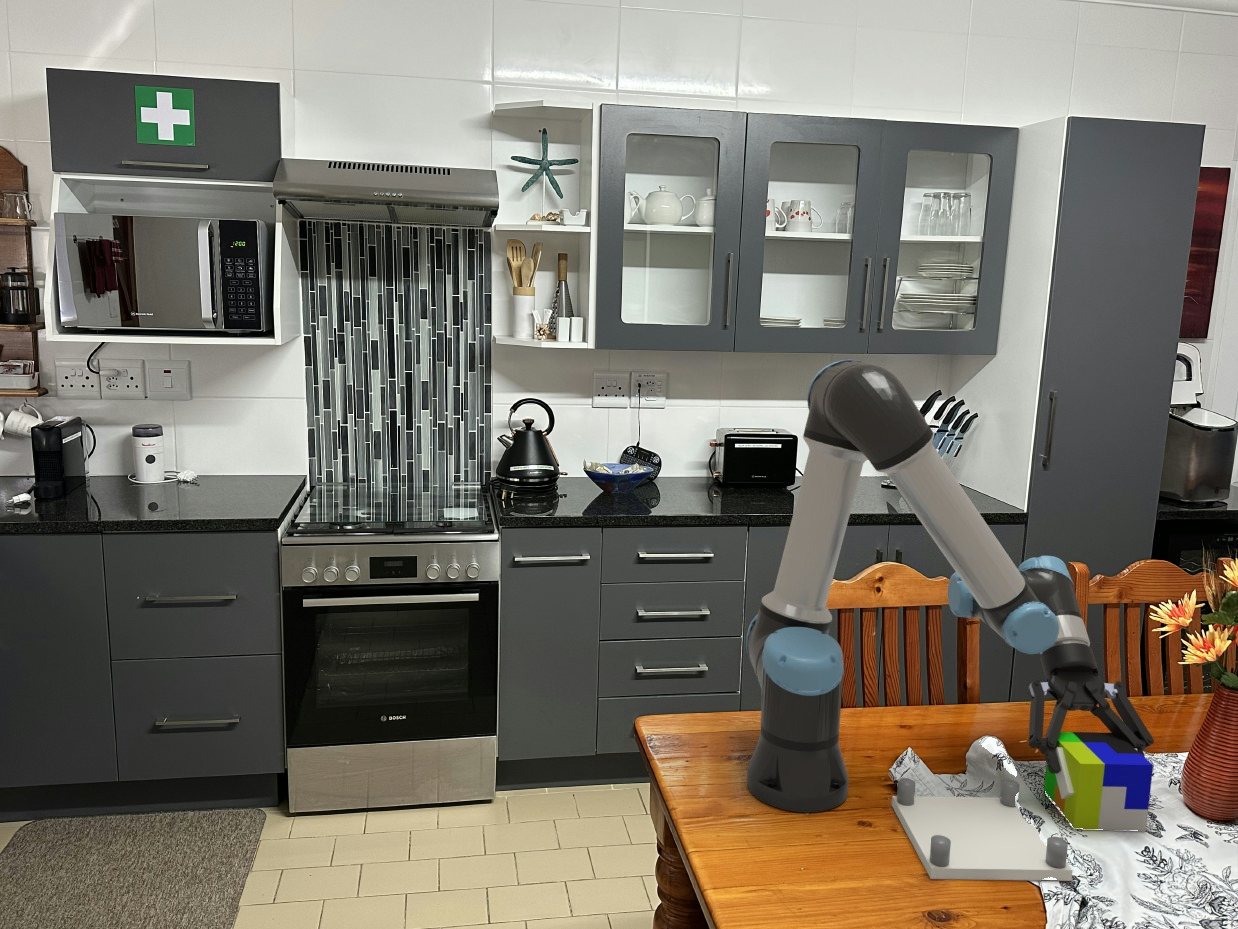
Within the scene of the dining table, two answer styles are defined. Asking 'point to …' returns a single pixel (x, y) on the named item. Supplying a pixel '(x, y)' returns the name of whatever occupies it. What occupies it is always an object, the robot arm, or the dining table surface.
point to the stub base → (978, 837)
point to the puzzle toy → (1103, 782)
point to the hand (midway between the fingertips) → (1105, 796)
